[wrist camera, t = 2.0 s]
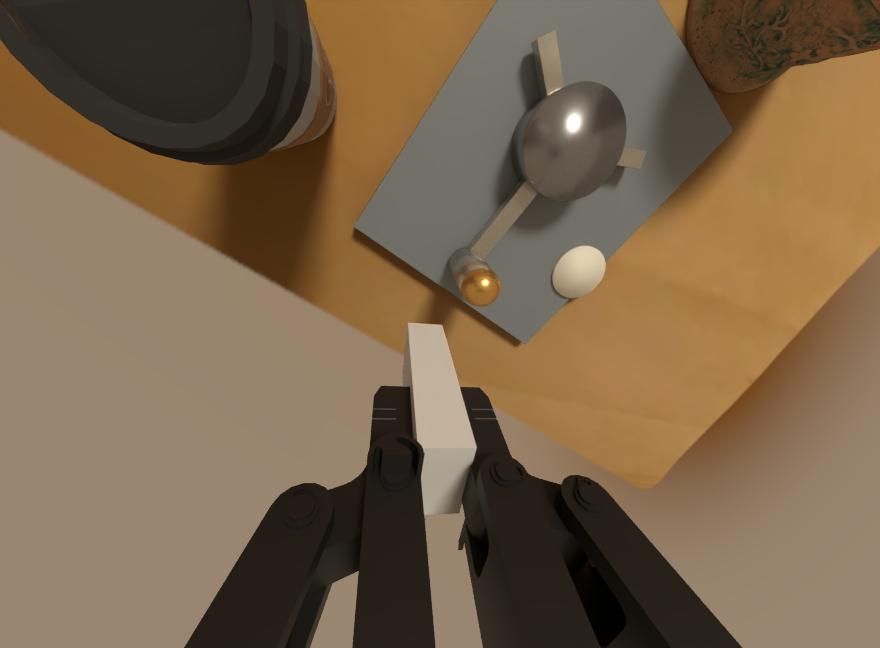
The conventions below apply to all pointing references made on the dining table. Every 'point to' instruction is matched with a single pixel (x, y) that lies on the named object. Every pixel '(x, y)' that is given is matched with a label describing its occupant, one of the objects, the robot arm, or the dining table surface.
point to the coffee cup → (181, 71)
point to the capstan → (550, 160)
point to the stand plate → (490, 163)
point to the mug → (774, 37)
